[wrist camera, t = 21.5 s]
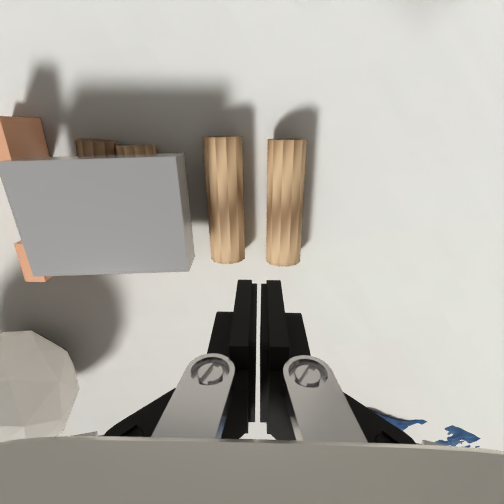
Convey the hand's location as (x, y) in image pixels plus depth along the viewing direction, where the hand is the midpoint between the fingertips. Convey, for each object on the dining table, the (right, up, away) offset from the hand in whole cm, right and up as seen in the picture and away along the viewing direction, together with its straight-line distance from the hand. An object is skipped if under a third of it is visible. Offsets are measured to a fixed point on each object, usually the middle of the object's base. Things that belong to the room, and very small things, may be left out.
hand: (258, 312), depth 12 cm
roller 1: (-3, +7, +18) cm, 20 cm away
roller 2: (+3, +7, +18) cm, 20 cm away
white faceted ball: (-28, -11, +28) cm, 41 cm away
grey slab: (-13, +6, +17) cm, 22 cm away
